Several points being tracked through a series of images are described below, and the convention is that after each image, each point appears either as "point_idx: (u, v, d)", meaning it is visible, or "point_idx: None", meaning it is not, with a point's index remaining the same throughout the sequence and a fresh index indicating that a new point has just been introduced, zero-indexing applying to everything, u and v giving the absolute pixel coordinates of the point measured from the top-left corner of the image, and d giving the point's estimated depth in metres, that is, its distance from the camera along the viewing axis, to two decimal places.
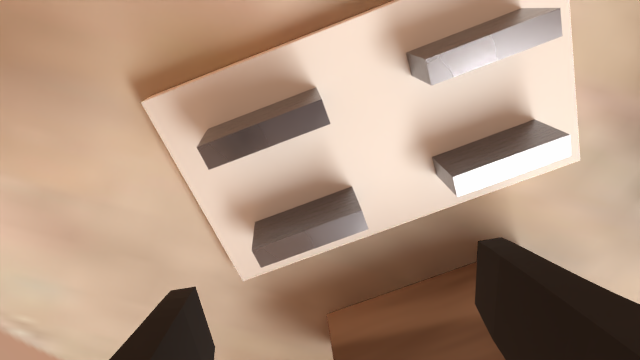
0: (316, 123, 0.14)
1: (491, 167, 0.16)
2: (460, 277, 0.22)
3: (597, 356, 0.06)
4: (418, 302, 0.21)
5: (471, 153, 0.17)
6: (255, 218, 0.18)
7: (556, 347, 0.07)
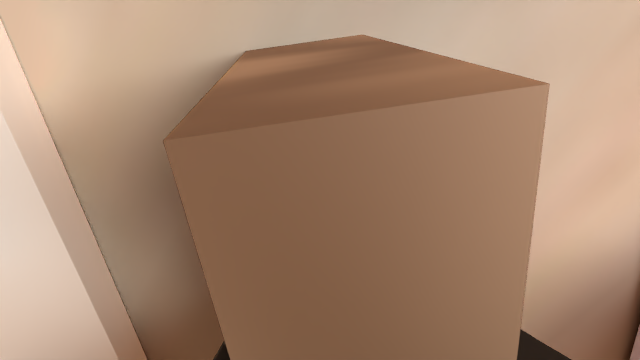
0: None
1: None
2: None
3: None
4: None
5: None
6: None
7: None
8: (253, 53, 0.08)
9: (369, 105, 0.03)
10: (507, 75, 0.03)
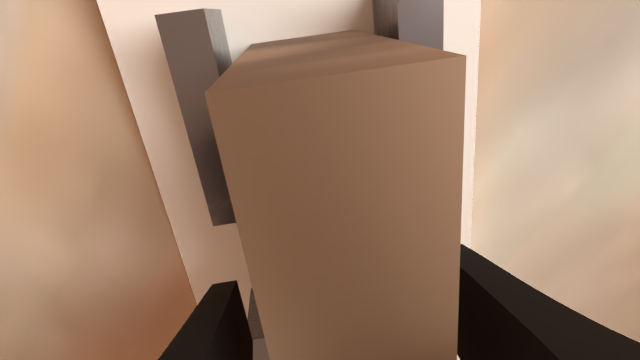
0: None
1: None
2: None
3: None
4: None
5: None
6: None
7: (503, 356, 0.07)
8: (258, 45, 0.10)
9: (344, 70, 0.04)
10: (444, 52, 0.05)
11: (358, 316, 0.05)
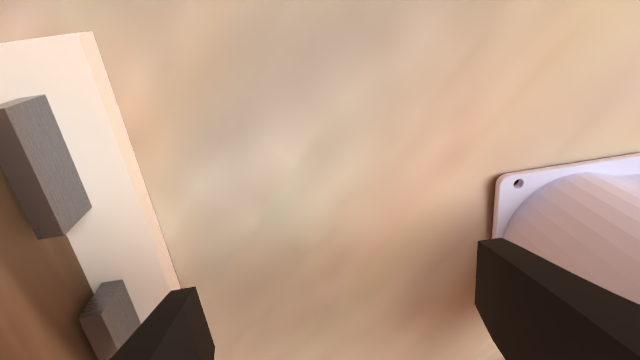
0: None
1: (24, 201, 0.14)
2: None
3: (597, 356, 0.06)
4: None
5: None
6: None
7: (556, 347, 0.07)
8: None
9: None
10: None
11: None
